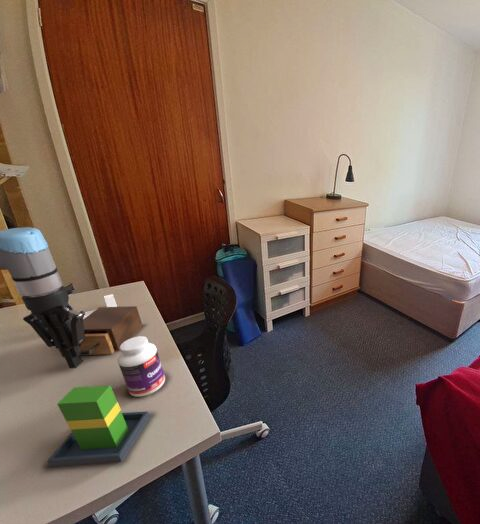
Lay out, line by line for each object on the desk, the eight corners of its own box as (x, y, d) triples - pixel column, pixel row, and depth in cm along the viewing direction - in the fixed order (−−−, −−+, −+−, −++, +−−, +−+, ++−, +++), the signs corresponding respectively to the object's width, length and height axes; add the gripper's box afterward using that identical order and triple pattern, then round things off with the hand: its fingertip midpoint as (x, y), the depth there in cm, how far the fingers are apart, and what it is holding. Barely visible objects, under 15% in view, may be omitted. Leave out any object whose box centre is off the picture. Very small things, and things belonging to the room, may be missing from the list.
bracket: (119, 312, 108) (112, 293, 106) (120, 315, 103) (113, 296, 101) (73, 325, 99) (65, 305, 98) (72, 330, 94) (64, 309, 93)
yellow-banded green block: (80, 450, 59) (56, 404, 54) (95, 431, 63) (73, 387, 57) (117, 447, 60) (96, 401, 54) (129, 429, 63) (111, 385, 58)
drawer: (102, 364, 81) (94, 345, 78) (62, 365, 80) (53, 346, 77) (135, 330, 95) (129, 313, 92) (102, 331, 94) (95, 314, 91)
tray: (51, 468, 56) (47, 461, 55) (89, 421, 65) (86, 414, 64) (122, 462, 57) (119, 455, 56) (150, 418, 67) (147, 411, 66)
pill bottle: (157, 397, 72) (143, 352, 66) (123, 400, 71) (105, 355, 65) (171, 373, 79) (159, 331, 74) (139, 376, 78) (125, 334, 72)
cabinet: (119, 351, 87) (111, 328, 84) (78, 353, 86) (68, 330, 82) (143, 327, 98) (136, 306, 95) (107, 328, 97) (99, 307, 94)
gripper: (83, 283, 73) (111, 354, 82) (28, 283, 72) (62, 356, 81) (58, 297, 66) (91, 373, 75) (-3, 298, 65) (38, 375, 74)
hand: (76, 364), depth 78 cm, fingers closed
